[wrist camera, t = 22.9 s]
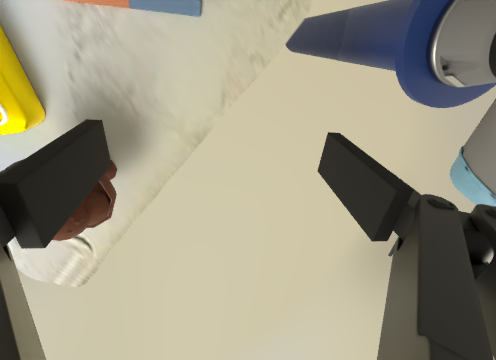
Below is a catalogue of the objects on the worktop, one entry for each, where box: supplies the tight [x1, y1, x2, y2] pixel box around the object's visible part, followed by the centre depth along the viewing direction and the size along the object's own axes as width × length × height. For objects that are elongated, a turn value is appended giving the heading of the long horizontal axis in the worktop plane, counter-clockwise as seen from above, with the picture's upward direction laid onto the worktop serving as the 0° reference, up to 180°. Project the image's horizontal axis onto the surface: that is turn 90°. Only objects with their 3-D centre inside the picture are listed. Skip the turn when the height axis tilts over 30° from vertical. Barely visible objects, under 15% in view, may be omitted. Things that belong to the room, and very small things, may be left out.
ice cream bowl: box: [52, 160, 117, 241], centre depth 36 cm, size 11×11×15 cm
